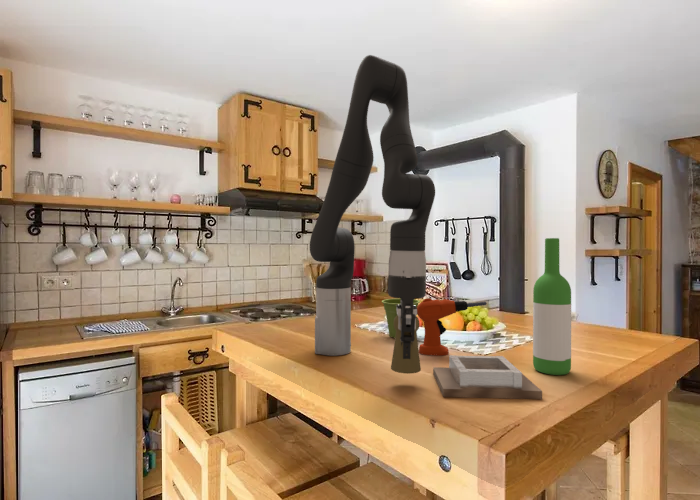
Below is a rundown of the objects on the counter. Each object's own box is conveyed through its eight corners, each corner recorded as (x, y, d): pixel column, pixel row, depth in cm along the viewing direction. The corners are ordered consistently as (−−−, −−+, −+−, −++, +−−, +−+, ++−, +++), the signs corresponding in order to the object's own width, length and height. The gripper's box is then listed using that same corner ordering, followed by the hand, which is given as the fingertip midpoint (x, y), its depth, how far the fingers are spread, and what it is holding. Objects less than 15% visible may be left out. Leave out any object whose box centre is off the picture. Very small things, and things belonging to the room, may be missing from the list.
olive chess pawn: (413, 375, 80) (414, 318, 80) (385, 370, 83) (386, 315, 83) (425, 367, 85) (426, 314, 85) (398, 362, 88) (399, 311, 88)
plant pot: (378, 333, 135) (378, 298, 135) (414, 332, 136) (414, 298, 136) (385, 341, 123) (385, 303, 123) (424, 340, 125) (424, 303, 125)
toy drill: (494, 351, 105) (486, 293, 106) (419, 358, 108) (412, 301, 108) (490, 347, 110) (483, 291, 110) (419, 353, 113) (412, 298, 113)
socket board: (443, 396, 78) (443, 388, 78) (433, 374, 92) (433, 367, 92) (542, 399, 77) (542, 391, 77) (516, 375, 91) (516, 368, 91)
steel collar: (460, 387, 79) (460, 371, 79) (449, 368, 90) (449, 355, 90) (521, 388, 78) (521, 372, 78) (502, 370, 90) (502, 356, 90)
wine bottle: (578, 372, 93) (578, 238, 92) (558, 378, 89) (558, 237, 88) (545, 364, 99) (546, 238, 99) (525, 369, 95) (526, 238, 95)
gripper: (387, 270, 91) (386, 348, 92) (389, 275, 77) (387, 368, 77) (422, 271, 91) (421, 349, 91) (429, 276, 77) (428, 369, 77)
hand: (405, 357), depth 84 cm, fingers closed on olive chess pawn, 3 cm apart
